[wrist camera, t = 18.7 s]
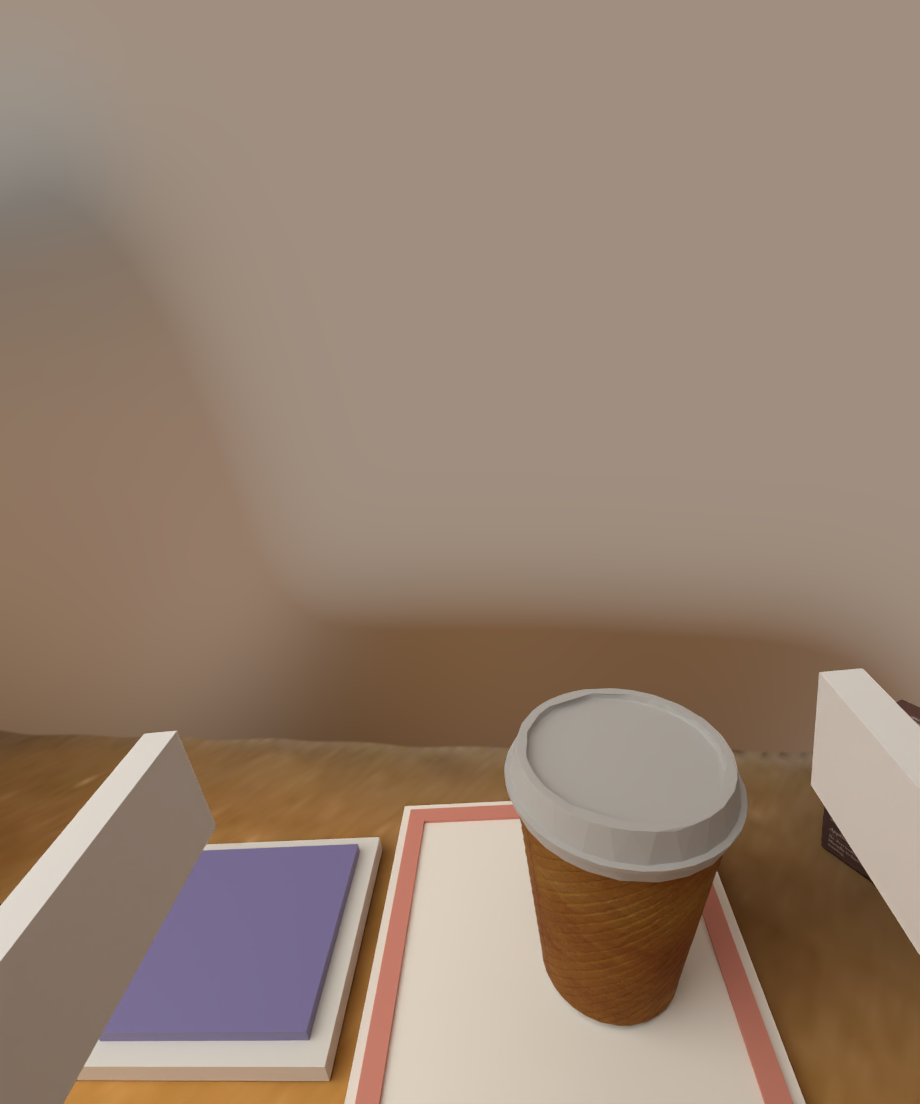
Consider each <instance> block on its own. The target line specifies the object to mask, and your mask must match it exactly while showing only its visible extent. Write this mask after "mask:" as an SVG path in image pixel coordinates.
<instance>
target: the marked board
mask: <svg viewBox="0 0 920 1104" xmlns="http://www.w3.org/2000/svg"><path fill="white" fill-rule="evenodd" d="M521 827H522V824H521V821H520V816H519V815H518V813H517V812H516V810H515V808H514V805H513V803H512V801H503V802H483V803H462V804H442V805H422V806H405V808H404V813H403V818H402V823H401V828H400V833H399V838H398V843H397V848H396V853H395V857H394V862H393V867H392V872H391V877H390V882H389V887H388V892H387V897H386V902H385V907H384V912H383V917H382V922H381V926H380V931H379V936H378V941H377V946H376V951H375V956H374V961H373V966H372V971H371V976H370V981H369V986H368V990H367V995H366V1000H365V1005H364V1010H363V1015H362V1020H361V1025H360V1030H359V1035H358V1040H357V1045H356V1050H355V1054H354V1059H353V1064H352V1069H351V1074H350V1079H349V1084H348V1089H347V1094H346V1099H345V1104H806V1103H805V1101H804V1098H803V1095H802V1093H801V1090H800V1087H799V1085H798V1082H797V1080H796V1077H795V1074H794V1072H793V1069H792V1066H791V1064H790V1061H789V1059H788V1056H787V1053H786V1051H785V1048H784V1045H783V1043H782V1040H781V1037H780V1035H779V1032H778V1030H777V1027H776V1024H775V1022H774V1019H773V1016H772V1014H771V1011H770V1009H769V1006H768V1003H767V1001H766V998H765V995H764V993H763V990H762V988H761V985H760V982H759V980H758V977H757V974H756V972H755V969H754V967H753V964H752V961H751V959H750V956H749V953H748V951H747V948H746V945H745V943H744V940H743V938H742V935H741V932H740V930H739V927H738V924H737V922H736V919H735V917H734V914H733V911H732V909H731V906H730V903H729V901H728V898H727V896H726V893H725V890H724V888H723V885H722V882H721V880H720V877H719V874H718V872H716V875H715V877H714V880H713V883H712V887H711V890H710V893H709V896H708V899H707V901H706V904H705V907H704V910H703V913H702V915H701V918H700V921H699V924H698V927H697V930H696V933H695V936H694V939H693V942H692V944H691V947H690V950H689V953H688V956H687V959H686V962H685V965H684V968H683V971H682V974H681V977H680V979H679V983H678V987H677V989H676V992H675V995H674V998H673V999H672V1001H671V1002H670V1004H669V1005H668V1007H667V1008H666V1009H665V1010H664V1011H663V1012H662V1013H661V1014H659V1015H658V1016H656V1017H655V1018H653V1019H651V1020H649V1021H647V1022H644V1023H640V1024H636V1025H632V1026H617V1025H612V1024H606V1023H601V1022H599V1021H596V1020H594V1019H592V1018H589V1017H587V1016H585V1015H584V1014H582V1013H581V1012H579V1011H578V1010H576V1009H575V1008H573V1007H572V1006H571V1005H570V1004H569V1003H568V1002H567V1001H566V1000H565V999H564V998H563V997H562V996H561V995H560V994H559V992H558V991H557V990H556V988H555V987H554V985H553V983H552V981H551V980H550V978H549V976H548V974H547V972H546V968H545V965H544V962H543V956H542V949H541V943H540V936H539V931H538V924H537V917H536V912H535V906H534V898H533V894H532V887H531V882H530V876H529V868H528V863H527V856H526V853H525V845H524V840H523V833H522V828H521Z"/></svg>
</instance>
